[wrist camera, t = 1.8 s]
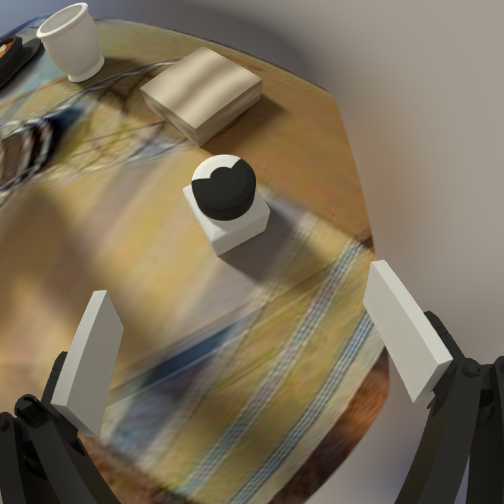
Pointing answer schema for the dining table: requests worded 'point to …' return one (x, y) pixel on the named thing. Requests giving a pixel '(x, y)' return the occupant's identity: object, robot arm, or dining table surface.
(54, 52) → the jar
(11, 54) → the casserole
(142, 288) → the dining table surface
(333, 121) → the dining table surface
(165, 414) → the dining table surface
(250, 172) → the medicine bottle
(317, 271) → the dining table surface
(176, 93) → the birch block
